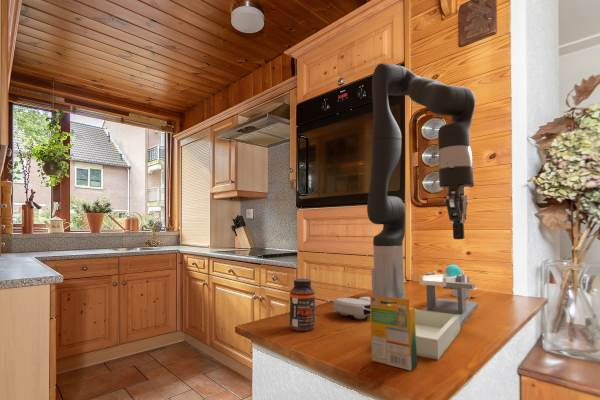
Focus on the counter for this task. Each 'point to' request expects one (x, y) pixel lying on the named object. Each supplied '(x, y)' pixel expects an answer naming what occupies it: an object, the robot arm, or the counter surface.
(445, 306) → the stand
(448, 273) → the ball
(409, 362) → the crayon box
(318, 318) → the counter surface
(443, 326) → the tray
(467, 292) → the architectural model
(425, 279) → the trough
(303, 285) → the supplement bottle
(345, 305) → the robot toy
